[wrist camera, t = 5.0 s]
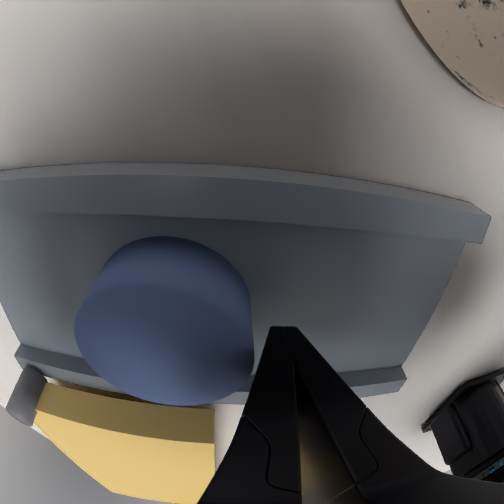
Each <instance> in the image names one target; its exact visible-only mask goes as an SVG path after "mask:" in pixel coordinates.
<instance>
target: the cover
mask: <svg viewBox="0 0 504 504" xmlns="http://www.w3.org/2000/svg"><path fill="white" fill-rule="evenodd" d="M6 411H7V412H8V413H9V414H10V415H11V416H12V417H14V418H15V419H16V420H18V421H20V422H21V423H23V424H25V425H28V426H32V425H33V422H34V423H35V424H36V426H37V427H38V428H39V429H40V430H41V431H42V432H43V433H44V434H45V435H46V436H47V437H48V438H49V439H50V440H51V441H52V442H53V443H54V444H55V445H56V446H57V447H58V448H59V449H60V450H61V451H62V452H64V453H65V454H66V455H67V456H68V457H69V458H70V459H71V460H72V461H74V462H75V463H76V464H77V465H78V466H79V467H80V468H82V469H83V470H84V471H85V472H86V473H88V474H89V475H90V476H91V477H93V478H94V479H95V480H97V481H98V482H99V483H100V484H102V485H103V486H104V487H106V488H107V489H108V490H110V491H111V492H115V493H119V494H123V495H128V496H132V497H138V498H143V499H149V500H155V501H161V502H169V503H177V504H197V502H198V501H199V499H200V497H201V496H202V494H203V493H204V491H205V489H206V488H207V486H208V484H209V483H210V481H211V479H212V478H213V476H214V474H215V409H198V408H185V407H174V406H165V405H157V404H149V403H142V402H135V401H129V400H123V399H117V398H112V397H106V396H101V395H97V394H92V393H87V392H83V391H79V390H75V389H71V388H67V387H63V386H59V385H55V384H52V383H48V381H47V380H46V378H45V377H44V376H43V375H42V374H40V373H39V372H38V371H36V370H34V369H32V368H29V367H25V368H24V369H23V371H22V373H21V375H20V377H19V380H18V382H17V384H16V386H15V388H14V390H13V393H12V395H11V397H10V399H9V402H8V404H7V406H6Z"/></svg>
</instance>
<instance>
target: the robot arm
mask: <svg viewBox="0 0 504 504" xmlns="http://www.w3.org/2000/svg"><path fill="white" fill-rule="evenodd" d="M503 380H504V369H503V370H501V371H498V372H495V373H493V374H490V375H487V376H484V377H481V378H479V379H476V380H473V381H469V382H467V383H465V384H463V385H462V386H461V387H460V388H459V389H458V390H457V391H456V392H455V393H454V394H453V396H452V397H451V398H450V399H449V400H448V401H447V402H446V403H445V404H444V405H443V407H442V408H441V409H440V410H439V411H438V412H437V413H436V414H435V415H434V416H433V417H432V418H431V419H430V420H429V421H428V422H427V423H426V424H425V425H424V426H423V427H422V428H421V429H422V431H423V433H424V432H427V431H431V430H432V431H433V433H434V436H435V438H436V441H437V443H438V446H439V448H440V451H441V454H442V456H443V459H444V462H445V464H446V465H449V466H450V468H451V471H452V473H453V475H450V474H446V473H443V472H440V471H438V470H436V469H435V468H433V467H431V466H430V465H429V464H427V463H426V462H425V461H424V460H422V459H421V458H420V457H419V456H418V455H417V454H415V453H414V452H413V451H412V450H411V449H410V448H408V447H407V446H406V445H405V444H404V443H403V442H401V441H400V440H399V439H398V438H397V437H396V436H395V435H394V434H393V433H392V432H391V431H389V430H388V429H387V428H386V427H385V426H384V425H383V423H382V422H381V421H380V420H379V419H378V418H377V417H376V416H375V415H374V414H373V413H372V412H371V411H370V409H369V408H366V405H365V404H364V403H363V402H362V401H361V399H360V398H359V397H358V396H357V395H356V394H355V393H354V392H353V390H352V389H351V388H350V387H349V386H348V385H347V384H346V382H345V381H344V380H343V379H342V378H341V377H340V376H339V375H338V373H337V372H336V371H335V370H334V369H333V368H332V367H331V365H330V364H329V363H328V362H327V361H326V360H325V359H324V357H323V356H322V355H321V354H320V353H319V352H318V350H317V349H316V348H315V347H314V346H313V345H312V344H311V342H310V341H309V340H308V339H307V338H306V337H305V336H304V334H303V333H302V332H301V331H300V330H299V329H298V328H297V327H296V326H284V327H283V326H271V327H270V328H269V331H268V335H267V338H266V341H265V345H264V348H263V351H262V354H261V357H260V360H259V364H258V367H257V370H256V373H255V376H254V379H253V382H252V385H251V388H250V392H249V395H248V398H247V401H246V404H245V407H244V410H243V413H242V417H241V418H240V421H239V424H238V427H237V429H236V432H235V435H234V437H233V440H232V442H231V444H230V446H229V448H228V450H227V452H226V454H225V456H224V458H223V460H222V462H221V464H220V465H219V467H218V469H217V471H216V472H215V474H214V476H213V478H212V479H211V481H210V483H209V484H208V486H207V488H206V489H205V491H204V493H203V494H202V496H201V497H200V499H199V501H198V502H197V504H504V464H503V465H502V466H500V467H499V468H497V469H496V470H494V471H493V472H491V473H490V474H488V475H487V476H485V477H484V478H482V479H480V480H475V479H473V478H475V477H476V476H478V475H480V474H481V473H483V472H484V471H486V470H487V469H489V468H490V467H492V466H493V465H495V464H496V463H498V462H499V461H501V460H502V459H503V458H504V392H503V390H502V388H501V386H500V383H501V382H502V381H503Z"/></svg>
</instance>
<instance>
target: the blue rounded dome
mask: <svg viewBox="0 0 504 504" xmlns="http://www.w3.org/2000/svg"><path fill="white" fill-rule="evenodd" d="M74 334H75V339H76V343H77V345H78V348H79V350H80V352H81V354H82V356H83V357H84V359H85V360H86V361H87V363H88V364H89V365H90V366H91V367H92V369H93V370H94V371H95V372H96V373H97V374H99V375H100V376H101V377H102V378H103V379H105V380H106V381H107V382H109V383H110V384H112V385H113V386H115V387H116V388H118V389H120V390H122V391H124V392H126V393H128V394H130V395H132V396H135V397H138V398H141V399H143V400H147V401H151V402H155V403H160V404H166V405H176V406H191V405H201V404H206V403H211V402H214V401H217V400H220V399H223V398H225V397H227V396H229V395H231V394H233V393H234V392H236V391H237V390H238V389H240V388H241V387H242V386H243V385H244V384H245V383H246V381H247V380H248V379H249V377H250V375H251V373H252V371H253V367H254V362H255V354H254V342H253V330H252V318H251V305H250V297H249V292H248V289H247V287H246V284H245V282H244V280H243V278H242V277H241V275H240V274H239V272H238V271H237V270H236V268H235V267H234V266H233V265H232V264H231V263H230V262H229V261H228V260H226V259H225V258H224V257H223V256H221V255H220V254H219V253H217V252H215V251H214V250H212V249H210V248H209V247H206V246H204V245H202V244H200V243H197V242H194V241H191V240H188V239H183V238H178V237H169V236H155V237H148V238H142V239H139V240H136V241H133V242H131V243H129V244H127V245H125V246H123V247H122V248H120V249H119V250H117V251H116V252H115V253H114V254H113V255H112V256H111V257H110V258H109V260H108V261H107V263H106V264H105V266H104V267H103V269H102V271H101V272H100V274H99V275H98V277H97V279H96V280H95V282H94V284H93V286H92V287H91V289H90V291H89V292H88V294H87V296H86V298H85V299H84V301H83V303H82V305H81V307H80V308H79V310H78V312H77V315H76V318H75V323H74Z"/></svg>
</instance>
